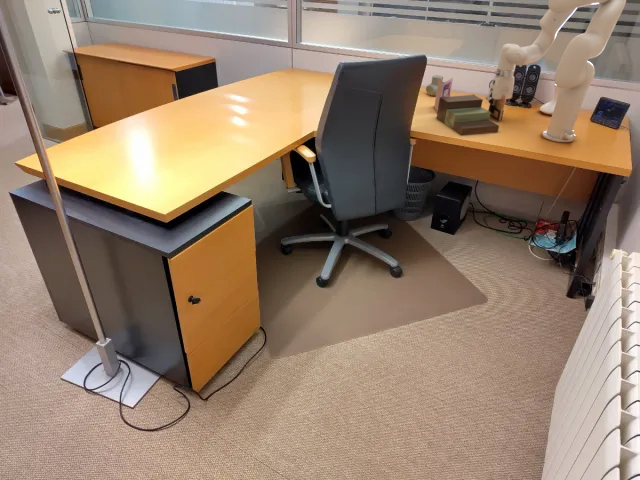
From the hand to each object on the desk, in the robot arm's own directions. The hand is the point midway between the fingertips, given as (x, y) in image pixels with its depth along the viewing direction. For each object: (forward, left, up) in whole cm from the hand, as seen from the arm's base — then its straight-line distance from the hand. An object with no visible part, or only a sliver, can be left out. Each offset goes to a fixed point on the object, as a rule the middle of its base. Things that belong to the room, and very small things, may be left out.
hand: (495, 112), depth 208 cm
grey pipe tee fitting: (+43, +10, -3) cm, 44 cm away
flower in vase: (0, -33, -3) cm, 33 cm away
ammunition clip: (0, 0, -3) cm, 3 cm away
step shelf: (-6, +19, -3) cm, 20 cm away
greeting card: (+18, +21, -3) cm, 28 cm away
